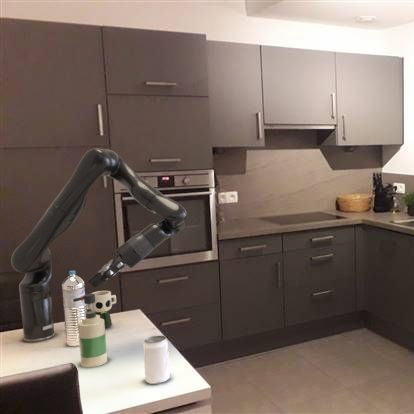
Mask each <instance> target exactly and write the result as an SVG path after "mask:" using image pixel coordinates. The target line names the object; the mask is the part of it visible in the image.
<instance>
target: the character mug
mask: <svg viewBox="0 0 414 414" xmlns="http://www.w3.org/2000/svg"><path fill="white" fill-rule="evenodd" d="M90 294H95V303H92V308H88V304H86V307H87V309H86V310H90V311H96V315H100V318H102V319H104V322H105V328H110V327H112V325H113V322H112V317H111V314H110V311H111V309H112V307H113V305H116V304H117V296H116V294H113V295H112V291H110V290H98V291H94V292H91V293H90ZM112 299H113V300H112Z"/></svg>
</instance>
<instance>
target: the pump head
mask: <svg viewBox="0 0 414 414" xmlns="http://www.w3.org/2000/svg"><path fill="white" fill-rule="evenodd" d="M80 300H84V303H85V304H88V308H92V303H95V294H91V293H85V295H84V297H80V298H75V299H73V301H74V302H76V301H80Z"/></svg>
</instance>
